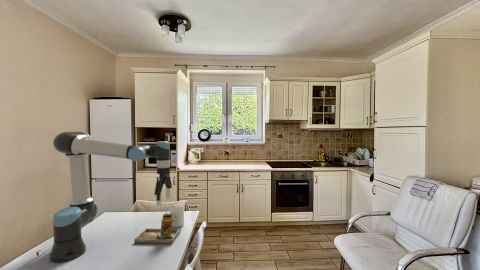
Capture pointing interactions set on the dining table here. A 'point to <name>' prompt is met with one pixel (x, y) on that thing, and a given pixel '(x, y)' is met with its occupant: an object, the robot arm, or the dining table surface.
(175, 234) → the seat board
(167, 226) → the condiment
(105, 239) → the dining table surface
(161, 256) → the dining table surface
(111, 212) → the dining table surface
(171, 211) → the mug
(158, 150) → the robot arm
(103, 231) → the dining table surface
